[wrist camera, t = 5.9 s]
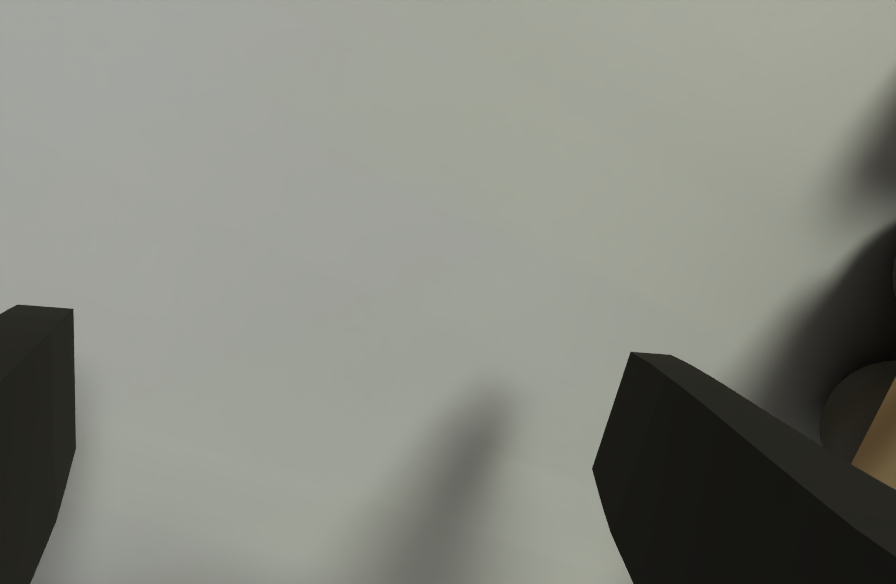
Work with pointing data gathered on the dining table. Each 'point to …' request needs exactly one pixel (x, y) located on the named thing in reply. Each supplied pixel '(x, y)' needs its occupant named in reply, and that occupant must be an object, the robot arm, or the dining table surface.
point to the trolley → (864, 419)
